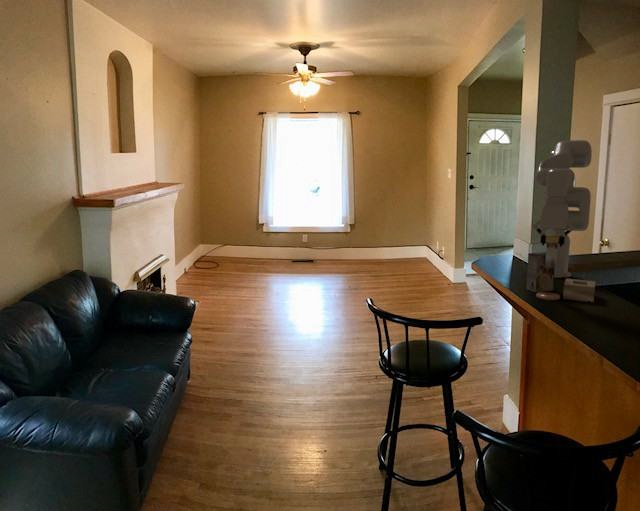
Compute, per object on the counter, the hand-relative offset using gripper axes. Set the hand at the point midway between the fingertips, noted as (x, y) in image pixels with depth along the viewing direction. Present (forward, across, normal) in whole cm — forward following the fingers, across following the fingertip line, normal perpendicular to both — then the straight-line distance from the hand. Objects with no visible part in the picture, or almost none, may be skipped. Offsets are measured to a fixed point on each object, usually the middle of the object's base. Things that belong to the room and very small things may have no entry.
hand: (552, 245), depth 206 cm
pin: (+9, 0, 0) cm, 9 cm away
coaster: (+22, 0, 0) cm, 22 cm away
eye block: (+22, -11, -6) cm, 25 cm away
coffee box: (+22, +4, -11) cm, 25 cm away
